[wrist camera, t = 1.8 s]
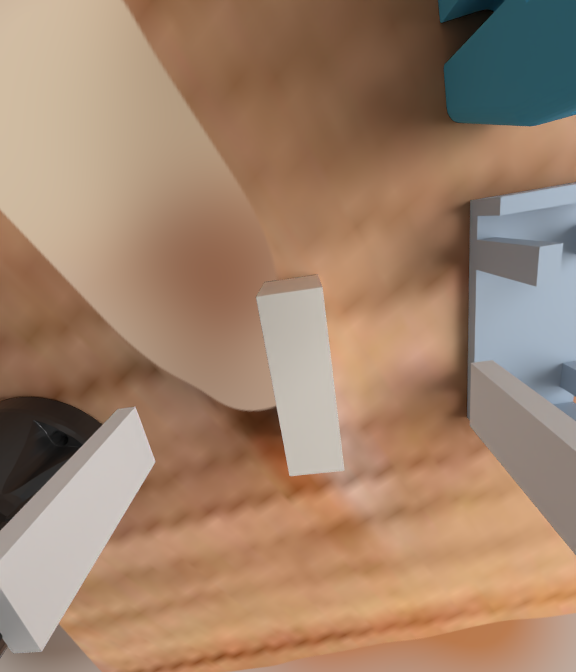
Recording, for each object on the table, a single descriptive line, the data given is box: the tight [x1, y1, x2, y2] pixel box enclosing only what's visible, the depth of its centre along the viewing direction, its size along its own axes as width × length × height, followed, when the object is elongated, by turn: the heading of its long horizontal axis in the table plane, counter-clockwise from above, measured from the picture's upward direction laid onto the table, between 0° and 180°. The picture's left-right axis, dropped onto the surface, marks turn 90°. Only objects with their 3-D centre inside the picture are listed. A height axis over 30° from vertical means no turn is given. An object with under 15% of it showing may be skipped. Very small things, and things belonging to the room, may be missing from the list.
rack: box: [467, 182, 576, 421], centre depth 21 cm, size 17×8×7 cm, turn 9°
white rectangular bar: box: [256, 274, 344, 476], centre depth 24 cm, size 14×4×5 cm, turn 8°
